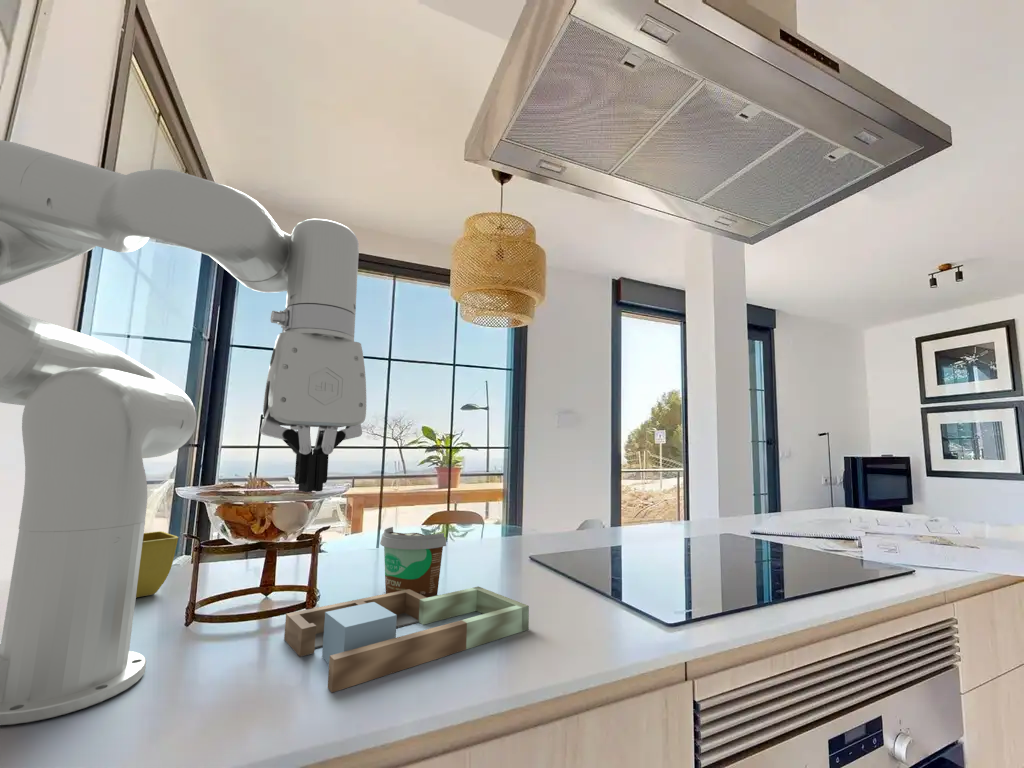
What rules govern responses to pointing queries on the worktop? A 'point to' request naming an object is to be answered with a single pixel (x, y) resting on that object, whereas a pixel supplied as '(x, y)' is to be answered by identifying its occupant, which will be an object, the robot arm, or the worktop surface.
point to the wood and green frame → (413, 648)
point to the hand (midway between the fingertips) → (310, 490)
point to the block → (357, 628)
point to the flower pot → (155, 561)
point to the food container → (412, 561)
